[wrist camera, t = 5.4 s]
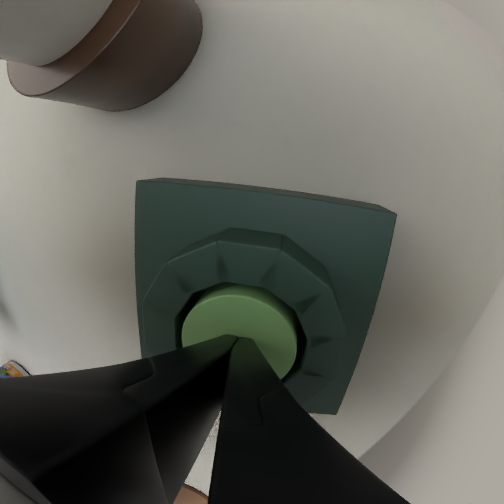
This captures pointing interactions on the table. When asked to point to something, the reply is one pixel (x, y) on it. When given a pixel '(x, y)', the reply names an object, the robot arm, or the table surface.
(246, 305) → the button
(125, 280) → the table surface
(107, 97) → the stand
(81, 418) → the robot arm
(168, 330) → the dark green square base
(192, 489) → the coaster
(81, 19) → the bottle
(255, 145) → the table surface
